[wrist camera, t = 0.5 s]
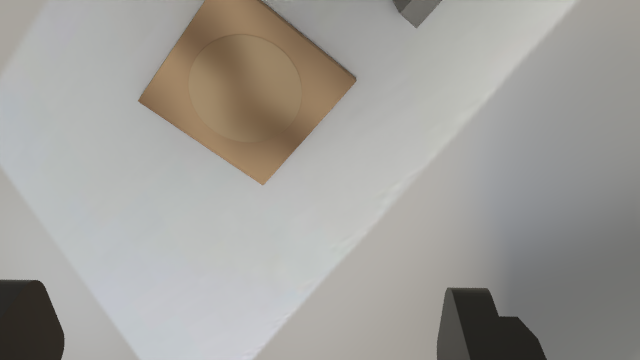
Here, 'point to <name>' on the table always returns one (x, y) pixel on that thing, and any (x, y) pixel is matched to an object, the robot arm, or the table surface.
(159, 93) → the coaster
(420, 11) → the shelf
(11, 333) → the robot arm
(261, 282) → the table surface
